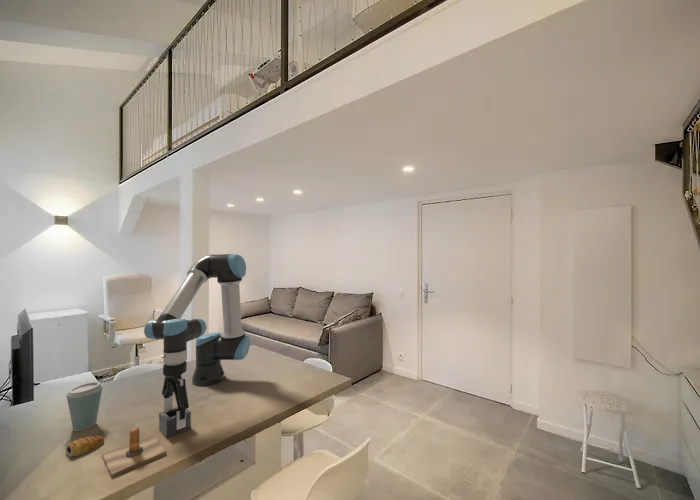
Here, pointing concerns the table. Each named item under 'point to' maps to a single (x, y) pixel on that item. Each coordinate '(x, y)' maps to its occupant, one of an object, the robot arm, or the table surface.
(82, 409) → the disposable coffee cup
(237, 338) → the robot arm
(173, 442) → the table surface
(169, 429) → the hollow square block
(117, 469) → the keeper
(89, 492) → the table surface
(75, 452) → the pastry
